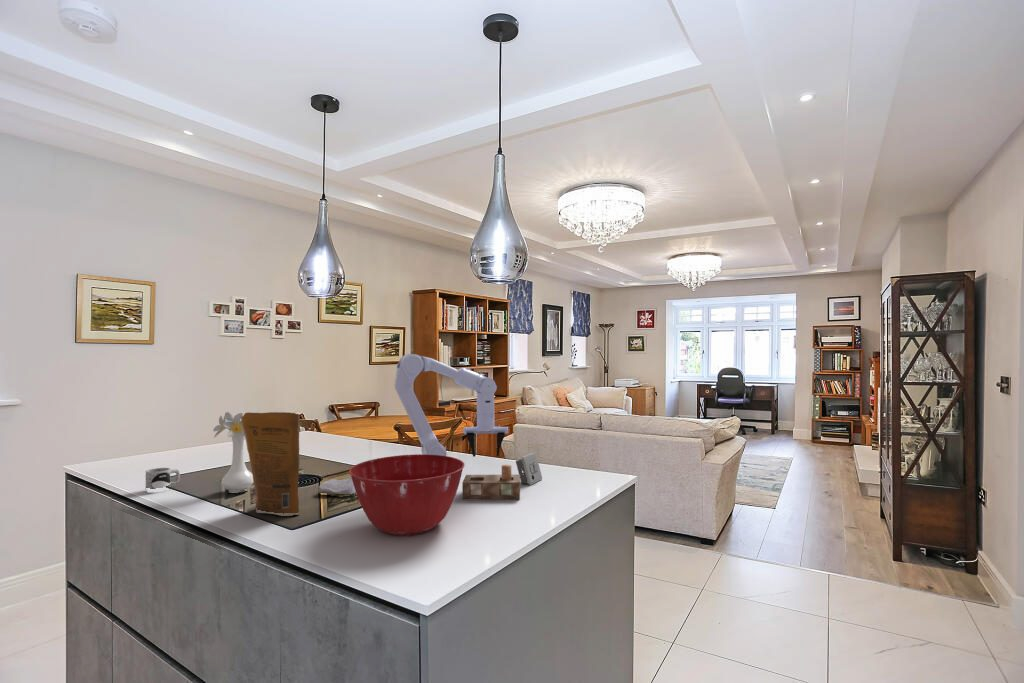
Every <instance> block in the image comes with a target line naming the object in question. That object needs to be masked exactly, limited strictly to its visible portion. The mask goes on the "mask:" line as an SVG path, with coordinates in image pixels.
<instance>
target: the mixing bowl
mask: <svg viewBox="0 0 1024 683" xmlns="http://www.w3.org/2000/svg"><path fill="white" fill-rule="evenodd" d="M465 466H466V465H465V462H464V461H463V460H461V459H459V458H456V457H453V456H448V455H446V456H442V455H428V454H422V453H421V454H402V455H393V456H385V457H380V458H379V457H378V458H373V459H369V460H366V461H362V462H359V463H357V464H355V465H353V466H351V467H350V468H349V470H348V473H349V475H351V476H350V478H352V481H353V484H354V488H355V491H356V496H357V499H358V501H359V503H360V506H361V508H362V509H363V512H364V514H365V515H366V517H367V519H368V521H369V522H370V523H371V524H372V525H373V526H374V527H376V528H377V529H378V530H381V531H382V532H383V531H384V532H383V533H385V534H387V533H388V534H389V535H391V534H392V535H391V536H412V535H414V534H415V535H420V534H424V533H427V532H429V531H431V530H433V529H434V528H435V527H436V526H438V525H439V524H440V523H441V522H443V520H444V519H445V518H446V516H447V514H448V513H449V511H450V509H451V507H452V504H453V502H454V499H455V498H456V495H457V492H458V489H459V485H460V481H461V478H462V474H463V470H464V467H465ZM423 532H424V533H423ZM419 533H420V534H419Z"/></svg>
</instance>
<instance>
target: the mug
mask: <svg viewBox="0 0 1024 683" xmlns="http://www.w3.org/2000/svg"><path fill="white" fill-rule="evenodd" d="M174 473H175V475H176V476H175V477H176V478H175V481H171V475H172V474H174ZM180 478H181V475H180V470H179V469H178V468H177V469H176V468H175V469H171V468H170V467H158V468H157V467H156V468H150V469H147V470H146V471H145V489H146V488H150V489H156V488H163V487H166V486H168V485H170V484H171V483H176V482H179V483H180V480H181V479H180Z"/></svg>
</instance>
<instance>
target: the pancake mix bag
mask: <svg viewBox="0 0 1024 683" xmlns="http://www.w3.org/2000/svg"><path fill="white" fill-rule="evenodd" d="M300 420H301V415H299V414H297V413H295V412H282V411H278V412H276V411H274V412H273V411H272V412H271V411H270V412H245V413H244V414H243V416H241V419H240V421H241V422H242V427H243V430H244V434H245V436H244V440H245V443H246V449H247V454H248V459H249V463H250V469H251V473H252V474H253V486H254V490H255V496H256V503H255V509H256V508H257V510H261V511H266V512H274V513H283V514H284V513H298V512H300V506H299V505H300V503H299V500H300V499H299V476H300V475H299V473H300V472H299V471H300V470H299V469H300Z"/></svg>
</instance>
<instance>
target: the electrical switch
mask: <svg viewBox="0 0 1024 683" xmlns="http://www.w3.org/2000/svg"><path fill="white" fill-rule="evenodd" d="M515 465H516V468H517V471H518V475H520V485H523V484H527V485H528V486H532V485H533V484H536V483H538V482H539V481H541V480H543V475H542V471H541V467H540V463H539V460H538V457H537V454H536V452H531V453H529V454H527V455H523V456H521V458H520V459H517V460H515Z"/></svg>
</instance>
